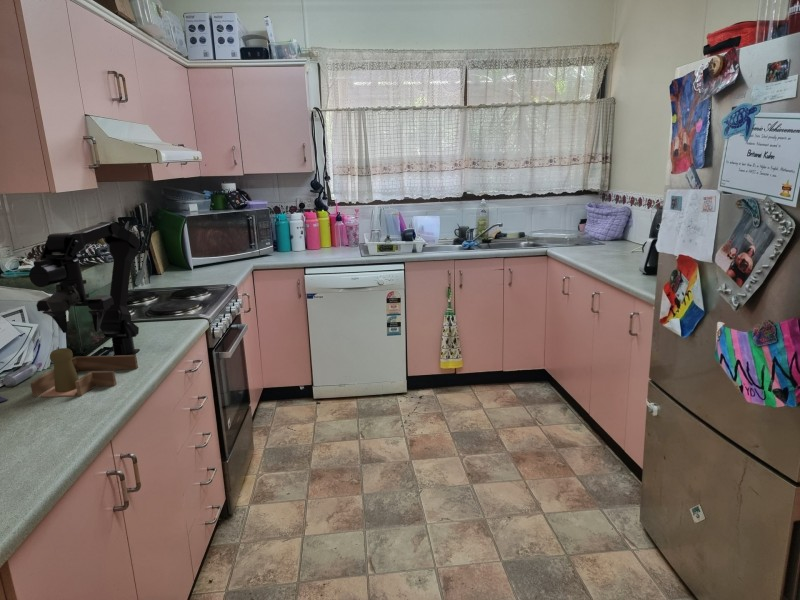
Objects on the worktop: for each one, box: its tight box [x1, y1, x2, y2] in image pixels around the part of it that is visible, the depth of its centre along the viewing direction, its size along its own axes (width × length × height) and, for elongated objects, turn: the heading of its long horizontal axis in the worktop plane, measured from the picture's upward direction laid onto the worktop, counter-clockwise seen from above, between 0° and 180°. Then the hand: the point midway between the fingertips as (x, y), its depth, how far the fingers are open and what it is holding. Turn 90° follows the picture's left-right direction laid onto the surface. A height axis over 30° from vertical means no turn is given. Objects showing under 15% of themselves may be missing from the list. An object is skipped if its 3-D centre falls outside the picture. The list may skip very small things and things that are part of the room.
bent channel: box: [29, 354, 139, 398], centre depth 147 cm, size 19×18×4 cm
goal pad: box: [39, 386, 78, 398], centre depth 143 cm, size 9×9×1 cm
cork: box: [49, 347, 80, 392], centre depth 141 cm, size 6×6×11 cm
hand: (81, 332), depth 149 cm, fingers open, 9 cm apart
